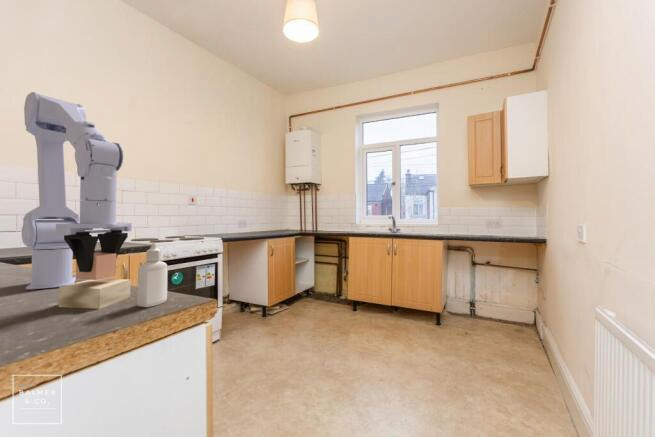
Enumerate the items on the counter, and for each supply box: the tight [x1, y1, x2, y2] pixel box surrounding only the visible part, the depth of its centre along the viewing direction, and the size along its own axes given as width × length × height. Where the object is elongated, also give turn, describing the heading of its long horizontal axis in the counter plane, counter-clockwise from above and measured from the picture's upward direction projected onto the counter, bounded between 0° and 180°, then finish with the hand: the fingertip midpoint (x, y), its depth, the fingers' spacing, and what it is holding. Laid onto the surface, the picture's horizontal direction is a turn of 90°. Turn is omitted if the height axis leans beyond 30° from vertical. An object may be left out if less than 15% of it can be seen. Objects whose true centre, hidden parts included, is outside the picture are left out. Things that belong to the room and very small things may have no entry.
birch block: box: [58, 278, 132, 310], centre depth 60 cm, size 8×8×4 cm
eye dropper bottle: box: [136, 242, 168, 308], centre depth 60 cm, size 4×6×12 cm
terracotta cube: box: [75, 252, 117, 280], centre depth 60 cm, size 4×4×4 cm
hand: (97, 269), depth 60 cm, fingers closed on terracotta cube, 4 cm apart
